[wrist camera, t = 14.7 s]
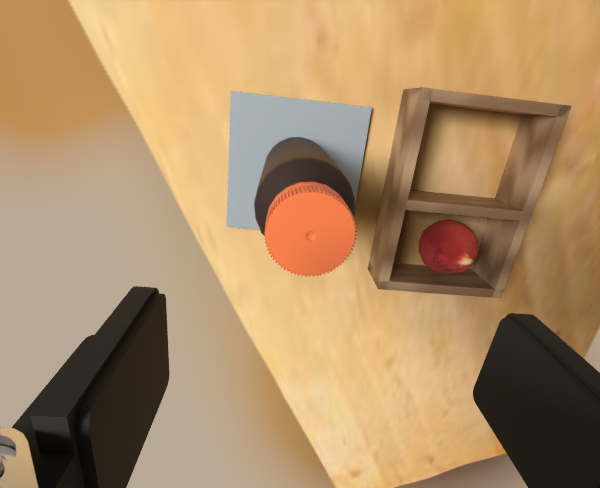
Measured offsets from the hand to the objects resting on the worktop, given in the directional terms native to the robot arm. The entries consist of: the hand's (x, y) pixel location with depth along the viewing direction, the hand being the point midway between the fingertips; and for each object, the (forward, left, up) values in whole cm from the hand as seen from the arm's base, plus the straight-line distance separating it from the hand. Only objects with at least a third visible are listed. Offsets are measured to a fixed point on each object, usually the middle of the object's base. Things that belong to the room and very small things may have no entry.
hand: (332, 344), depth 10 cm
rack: (+1, +17, -30) cm, 34 cm away
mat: (0, 0, -30) cm, 30 cm away
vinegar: (0, 0, -30) cm, 29 cm away
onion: (+6, +17, -30) cm, 35 cm away
